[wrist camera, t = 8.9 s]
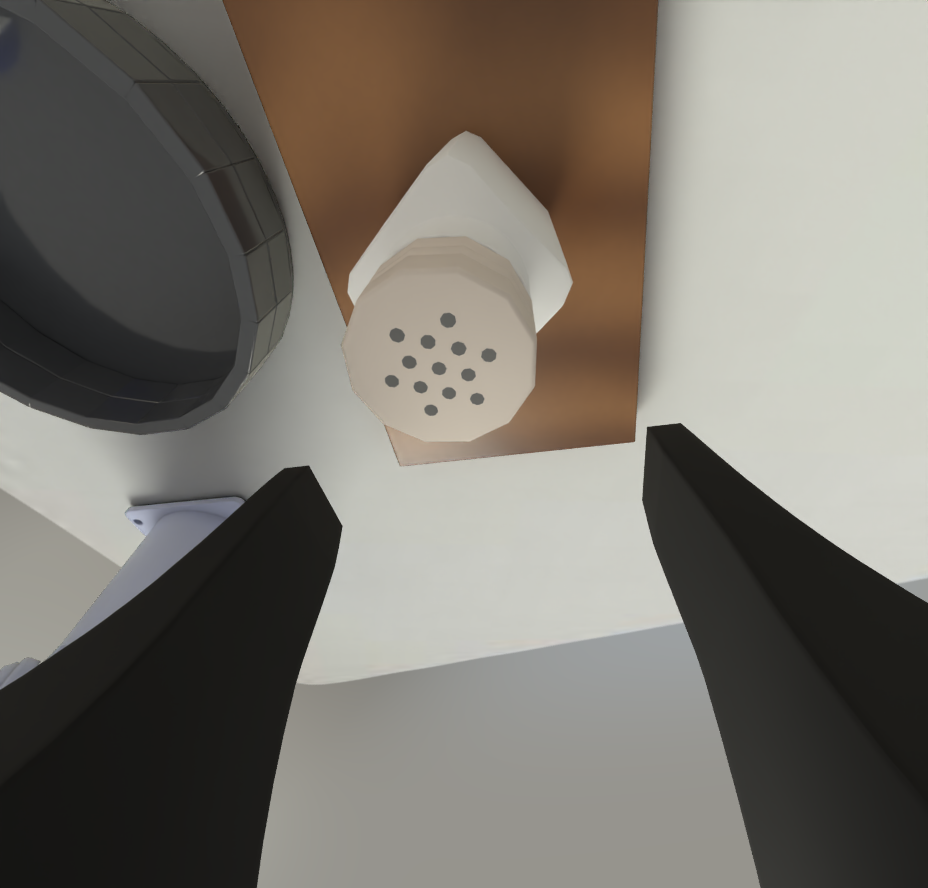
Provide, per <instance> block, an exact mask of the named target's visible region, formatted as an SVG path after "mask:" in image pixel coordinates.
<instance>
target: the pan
mask: <svg viewBox="0 0 928 888" xmlns="http://www.w3.org/2000/svg"><path fill="white" fill-rule="evenodd" d="M292 296H293V268H292V260H291V251H290V245H289V241H288V237H287V232H286V228H285V224H284V220H283V217H282V215H281V212H280V209H279V206H278V203H277V200H276V198H275V195H274V192H273V190H272V188H271V186H270V184H269V182H268V179H267V177H266V175H265V173H264V171H263V169H262V167H261V164H260V163H259V161H258V159H257V157H256V156H255V154H254V152H253V151H252V149H251V147H250V146H249V144H248V142H247V140H246V139H245V137H244V135H243V134H242V132H241V131H240V129H239V128H238V127H237V125H236V124H235V122H234V121H233V120H232V118H231V117H230V115H229V114H228V113H227V111H226V110H225V108H224V107H223V106H222V104H221V103H220V102H219V100H218V99H217V98H216V97H215V96H214V95H213V93H212V92H211V91H210V90H209V89H208V88H207V86H206V85H205V84H204V83H203V82H202V81H201V79H200V78H199V77H198V76H197V75H196V74H195V73H194V71H192V70H191V69H190V68H189V67H188V66H187V65H186V64H185V63H184V62H183V61H182V60H181V59H180V58H179V57H178V56H177V55H176V54H175V53H174V52H173V51H172V50H171V49H170V48H169V47H168V46H167V45H166V44H165V43H163V42H162V41H161V40H160V39H158V38H157V37H156V36H155V35H153V34H152V33H151V32H150V31H148V30H147V29H146V28H145V27H143V26H142V25H141V24H140V23H138V22H137V21H136V20H135V19H133V18H132V17H130V16H129V15H127V14H126V13H124V12H123V11H121V10H120V9H118V8H116V7H115V6H113V5H112V4H110V3H109V2H107V1H106V0H0V392H2V393H4V394H5V395H7V396H9V397H11V398H13V399H15V400H17V401H19V402H21V403H22V404H24V405H26V406H28V407H31V408H33V409H36V410H39V411H42V412H45V413H48V414H51V415H53V416H56V417H59V418H62V419H65V420H68V421H71V422H74V423H77V424H80V425H83V426H85V427H89V428H93V429H100V430H108V431H115V432H123V433H130V434H137V435H146V434H154V433H161V432H169V431H177V430H184V429H188V428H191V427H193V426H195V425H197V424H199V423H201V422H202V421H204V420H206V419H208V418H210V417H212V416H213V415H215V414H217V413H219V412H221V411H223V410H224V409H226V408H227V407H228V406H229V405H230V403H231V402H232V401H233V400H234V399H235V398H236V396H237V395H238V394H239V393H240V392H241V391H242V389H243V388H244V387H245V386H246V385H247V384H248V382H249V381H250V380H251V379H252V378H253V377H254V375H255V374H256V373H257V372H258V371H259V370H260V368H261V367H262V365H263V364H264V363H265V361H266V360H267V358H268V357H269V356H270V354H271V353H272V352H273V350H274V349H275V348H276V346H277V344H278V343H279V342H280V340H281V339H282V337H283V333H284V330H285V327H286V324H287V321H288V318H289V315H290V308H291V302H292Z"/></svg>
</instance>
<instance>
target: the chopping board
mask: <svg viewBox="0 0 928 888" xmlns="http://www.w3.org/2000/svg"><path fill="white" fill-rule="evenodd" d="M222 1H223V3H224V6H225V9H226V11H227V14H228V16H229V19H230V22H231V24H232V27H233V30H234V32H235V35H236V37H237V40H238V43H239V45H240V48H241V51H242V53H243V56H244V58H245V61H246V64H247V66H248V69H249V72H250V74H251V77H252V79H253V82H254V85H255V87H256V90H257V92H258V95H259V98H260V100H261V103H262V106H263V108H264V111H265V113H266V116H267V119H268V121H269V124H270V127H271V129H272V132H273V134H274V137H275V140H276V142H277V145H278V148H279V150H280V153H281V155H282V158H283V161H284V163H285V166H286V169H287V171H288V174H289V176H290V179H291V182H292V184H293V187H294V189H295V192H296V195H297V197H298V200H299V203H300V205H301V208H302V210H303V213H304V216H305V218H306V221H307V224H308V226H309V229H310V231H311V234H312V237H313V239H314V242H315V245H316V247H317V250H318V252H319V255H320V258H321V260H322V263H323V266H324V268H325V271H326V273H327V276H328V279H329V281H330V284H331V286H332V289H333V292H334V294H335V297H336V300H337V302H338V305H339V307H340V310H341V313H342V315H343V318H344V321H345V323H346V326H348V324H349V321H350V318H351V315H352V312H353V309H354V305H353V303H352V301H351V298H350V296H349V294H348V282H349V274H350V272H351V271H352V269H353V268H354V266H355V265H356V263H357V262H358V261H359V259H360V258H361V256H362V255H363V253H364V252H365V250H366V249H367V248H368V246H369V245H370V243H371V242H372V240H373V239H374V238H375V236H376V235H377V233H378V232H379V230H380V229H381V228H382V226H383V225H384V223H385V222H386V221H387V219H388V218H389V216H390V215H391V214H392V212H393V211H394V209H395V208H396V206H397V205H398V204H399V202H400V201H401V199H402V198H403V197H404V195H405V194H406V192H407V191H408V190H409V188H410V187H411V185H412V184H413V183H414V181H415V180H416V178H417V177H418V176H419V174H420V173H421V172H422V170H423V169H424V167H425V166H426V165H427V164H428V163H429V162H430V161H431V160H432V158H433V157H434V156H435V155H436V154H437V153H438V152H439V151H440V150H441V149H442V148H443V147H444V146H445V145H446V144H447V143H448V142H449V141H450V140H451V139H453V138H454V137H456V136H458V135H459V134H461V133H463V132H465V131H468V132H470V133H472V134H475V135H477V136H479V137H481V138H482V139H483V140H484V141H485V142H486V143H487V144H488V145H489V147H490V148H491V149H492V150H493V151H494V152H495V153H496V154H497V155H498V156H499V158H500V159H501V160H502V161H503V162H504V163H505V164H506V165H507V166H508V167H509V169H510V170H511V171H512V172H513V173H514V174H515V175H516V176H517V177H518V179H519V180H520V181H521V182H522V183H523V184H524V185H525V186H526V187H527V188H528V190H529V191H530V192H531V193H532V194H533V195H534V196H535V197H536V198H537V200H538V201H539V202H540V203H541V204H542V205H543V206H544V207H545V208H546V209H547V211H548V213H549V215H550V218H551V221H552V224H553V227H554V229H555V232H556V235H557V238H558V240H559V243H560V246H561V249H562V252H563V254H564V257H565V260H566V263H567V266H568V269H569V272H570V275H571V278H572V281H573V283H572V286H571V288H570V291H569V293H568V295H567V298H566V300H565V302H564V305H563V306H562V307H561V308H560V309H559V310H558V312H557V313H556V314H555V315H554V316H553V317H552V318H551V319H550V320H549V321H548V322H547V323H546V324H545V325H544V326H543V327H542V328H541V329H540V330H539V331H538V332H537V333H536V336H537V352H536V374H535V387H534V388H533V390H532V391H531V393H530V394H529V395H528V397H527V398H526V400H525V401H524V402H523V404H522V405H521V407H520V408H519V409H518V411H517V412H516V414H515V415H514V416H513V418H512V419H511V421H510V422H509V423H507V424H505V425H503V426H501V427H499V428H497V429H495V430H493V431H490V432H488V433H486V434H484V435H482V436H480V437H478V438H476V439H474V440H471V441H457V442H425V441H422V440H420V439H418V438H415V437H413V436H411V435H408V434H406V433H404V432H401V431H399V430H396V429H394V428H392V427H389V426H387V425H385V424H384V425H385V428H386V431H387V433H388V436H389V439H390V441H391V444H392V446H393V449H394V452H395V454H396V457H397V460H398V462H399V465H400V466H408V465H418V464H428V463H437V462H447V461H456V460H466V459H476V458H485V457H495V456H505V455H514V454H524V453H533V452H543V451H553V450H562V449H572V448H581V447H591V446H601V445H610V444H620V443H630V442H635V433H636V414H637V395H638V376H639V357H640V338H641V319H642V301H643V282H644V263H645V244H646V225H647V206H648V187H649V168H650V150H651V131H652V112H653V93H654V74H655V55H656V36H657V17H658V0H222Z"/></svg>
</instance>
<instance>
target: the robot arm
mask: <svg viewBox="0 0 928 888" xmlns="http://www.w3.org/2000/svg"><path fill="white" fill-rule="evenodd" d="M642 501H643V505H644V509H645V513H646V517H647V521H648V525H649V529H650V533H651V537H652V541H653V544H654V547H655V550H656V553H657V555H658V558H659V560H660V563H661V566H662V568H663V571H664V573H665V576H666V578H667V581H668V584H669V586H670V589H671V591H672V594H673V596H674V599H675V601H676V604H677V607H678V609H679V612H680V614H681V617H682V619H683V622H684V624H685V627H686V629H687V632H688V634H689V637H690V639H691V642H692V645H693V647H694V649H695V652H696V655H697V658H698V661H699V664H700V667H701V670H702V673H703V675H704V678H705V682H706V685H707V689H708V692H709V696H710V699H711V702H712V706H713V710H714V713H715V717H716V720H717V723H718V727H719V731H720V734H721V738H722V741H723V745H724V749H725V752H726V756H727V760H728V763H729V767H730V771H731V774H732V778H733V781H734V785H735V789H736V793H737V796H738V800H739V804H740V808H741V812H742V816H743V819H744V823H745V827H746V831H747V835H748V839H749V843H750V847H751V851H752V855H753V859H754V862H755V866H756V870H757V874H758V879H759V883H760V887H761V888H928V603H927V602H925V601H924V600H922V599H920V598H918V597H917V596H915V595H913V594H912V593H910V592H908V591H907V590H905V589H904V588H902V587H900V586H899V585H897V584H895V583H894V582H892V581H891V580H889V579H887V578H886V577H884V576H883V575H881V574H879V573H878V572H876V571H875V570H873V569H871V568H870V567H868V566H867V565H865V564H863V563H862V562H860V561H859V560H857V559H855V558H854V557H852V556H851V555H849V554H848V553H846V552H845V551H843V550H842V549H840V548H839V547H837V546H836V545H834V544H833V543H831V542H830V541H829V540H827V539H826V538H824V537H823V536H821V535H820V534H819V533H817V532H816V531H814V530H813V529H812V528H810V527H809V526H807V525H806V524H805V523H803V522H802V521H800V520H799V519H798V518H796V517H795V516H794V515H792V514H791V513H790V512H788V511H787V510H786V509H784V508H783V507H782V506H780V505H779V504H778V503H776V502H775V501H774V500H772V499H771V498H770V497H769V496H767V495H766V494H765V493H764V492H762V491H761V490H760V489H759V488H757V487H756V486H755V485H753V484H752V483H751V482H750V481H748V480H747V479H746V478H745V477H743V476H742V475H741V474H740V473H739V472H737V471H736V470H735V469H734V468H733V467H731V466H730V465H729V464H728V463H727V462H725V461H724V460H723V459H722V458H721V457H720V456H718V455H717V454H716V453H715V452H714V451H713V450H711V449H710V448H709V447H708V446H707V445H706V444H704V443H703V442H702V441H701V440H700V439H699V438H697V437H696V436H695V435H694V434H693V433H692V432H691V431H689V430H688V429H687V428H686V427H685V426H683V425H682V424H681V423H678V424H669V425H660V426H652V427H647V436H646V451H645V466H644V482H643V497H642ZM125 515H126V517H127V518H128V519H129V520H130V521H131V522H132V523H133V524H134V525H135V526H136V527H137V528H138V529H139V530H140V531H141V532H142V533H143V534H144V535H145V536H146V537H145V539H144V540H143V541H142V542H141V544H140V545H139V546H138V547H137V549H136V550H135V551H134V553H133V554H132V555H131V556H130V558H129V559H128V560H127V561H126V563H125V564H124V565H123V566H122V568H121V569H120V570H119V571H118V573H117V574H116V575H115V577H114V578H113V579H112V580H111V581H110V583H109V584H108V585H107V587H106V588H105V589H104V590H103V592H102V593H101V594H100V595H99V597H98V598H97V599H96V600H95V602H94V603H93V604H92V605H91V607H90V608H89V609H88V610H87V612H86V613H85V614H84V616H83V617H82V618H81V619H80V621H79V622H78V623H77V624H76V626H75V627H74V628H73V629H72V631H71V632H70V633H69V634H68V636H67V637H66V638H65V639H64V641H63V642H62V643H61V645H60V646H59V647H58V648H57V649H56V650H55V651H54V652H53V653H52V654H51V655H50V656H49V657H48V658H47V659H46V660H45V661H44V662H42V663H41V664H39V663H40V661H39V660H36V659H33V658H29V657H27V658H24V659H23V660H22V661H21V662H20V663H19V662H15V663H12V664H9V665H6V666H4V667H2V668H1V669H0V888H257V882H258V874H259V868H260V860H261V853H262V846H263V840H264V834H265V828H266V823H267V817H268V811H269V806H270V800H271V794H272V789H273V783H274V778H275V774H276V769H277V764H278V759H279V754H280V750H281V745H282V740H283V735H284V731H285V726H286V722H287V718H288V714H289V710H290V706H291V701H292V697H293V693H294V689H295V685H296V681H297V678H298V675H299V672H300V668H301V665H302V662H303V659H304V656H305V653H306V650H307V647H308V644H309V641H310V639H311V636H312V633H313V630H314V627H315V624H316V621H317V618H318V615H319V613H320V610H321V607H322V604H323V601H324V598H325V595H326V592H327V589H328V586H329V583H330V580H331V577H332V574H333V571H334V568H335V563H336V558H337V554H338V549H339V543H340V538H341V532H342V524H341V522H340V521H339V519H338V517H337V515H336V513H335V512H334V510H333V508H332V506H331V504H330V503H329V501H328V499H327V497H326V495H325V494H324V492H323V490H322V488H321V487H320V485H319V483H318V481H317V479H316V478H315V476H314V474H313V472H312V470H311V469H310V467H309V466H301V467H293V468H284V469H283V470H282V471H280V472H279V473H278V474H277V475H275V476H274V477H273V478H272V479H270V480H269V481H268V482H267V483H266V484H265V485H264V486H262V487H261V488H260V489H259V490H258V491H257V492H256V493H254V494H253V495H252V496H251V497H250V498H249V499H248V500H247V501H246V502H245V501H244V500H243V499H241V498H239V497H226V498H215V499H205V500H195V501H185V502H175V503H164V504H154V505H144V506H134V507H129V508H128V509H127V510H126V512H125ZM38 664H39V665H38Z"/></svg>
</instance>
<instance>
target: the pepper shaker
mask: <svg viewBox="0 0 928 888" xmlns="http://www.w3.org/2000/svg"><path fill="white" fill-rule="evenodd" d="M572 283H573V281H572V278H571V275H570V272H569V269H568V266H567V263H566V260H565V257H564V254H563V252H562V249H561V246H560V243H559V240H558V238H557V235H556V232H555V229H554V227H553V224H552V221H551V218H550V215H549V213H548V211H547V209H546V208H545V207H544V206H543V205H542V204H541V203H540V202H539V201H538V200H537V198H536V197H535V196H534V195H533V194H532V193H531V192H530V191H529V190H528V188H527V187H526V186H525V185H524V184H523V183H522V182H521V181H520V180H519V179H518V177H517V176H516V175H515V174H514V173H513V172H512V171H511V170H510V169H509V167H508V166H507V165H506V164H505V163H504V162H503V161H502V160H501V159H500V158H499V156H498V155H497V154H496V153H495V152H494V151H493V150H492V149H491V148H490V147H489V145H488V144H487V143H486V142H485V141H484V140H483V139H482V138H481V137H479V136H477V135H475V134H472V133H470V132H468V131H465V132H463V133H461V134H459V135H458V136H456V137H454V138H453V139H451V140H450V141H449V142H448V143H447V144H446V145H445V146H444V147H443V148H442V149H441V150H440V151H439V152H438V153H437V154H436V155H435V156H434V157H433V158H432V160H431V161H430V162H429V163H428V164H427V165H426V166H425V167H424V169H423V170H422V172H421V173H420V174H419V176H418V177H417V178H416V180H415V181H414V183H413V184H412V185H411V187H410V188H409V190H408V191H407V192H406V194H405V195H404V197H403V198H402V199H401V201H400V202H399V204H398V205H397V206H396V208H395V209H394V211H393V212H392V214H391V215H390V216H389V218H388V219H387V221H386V222H385V223H384V225H383V226H382V228H381V229H380V230H379V232H378V233H377V235H376V236H375V238H374V239H373V240H372V242H371V243H370V245H369V246H368V248H367V249H366V250H365V252H364V253H363V255H362V256H361V258H360V259H359V261H358V262H357V263H356V265H355V266H354V268H353V269H352V271H351V272H350V274H349V282H348V294H349V296H350V298H351V301H352V303H353V305H354V309H353V312H352V315H351V318H350V321H349V324H348V326H347V329H346V332H345V335H344V338H343V341H342V344H341V347H342V351H343V355H344V359H345V363H346V366H347V370H348V374H349V378H350V382H351V386H352V390H353V391H354V393H355V394H356V395H357V396H358V397H359V398H360V399H361V400H362V401H363V402H364V403H365V404H366V406H367V407H368V408H369V409H370V410H371V411H372V412H373V413H374V414H375V415H376V416H377V417H378V419H379V420H380V421H381V422H382V423H383V424H385V425H387V426H389V427H392V428H394V429H396V430H399V431H401V432H404V433H406V434H408V435H411V436H413V437H415V438H418V439H420V440H422V441H425V442H457V441H471V440H474V439H476V438H478V437H480V436H482V435H484V434H486V433H488V432H490V431H493V430H495V429H497V428H499V427H501V426H503V425H505V424H507V423H509V422H510V421H511V419H512V418H513V416H514V415H515V414H516V412H517V411H518V409H519V408H520V407H521V405H522V404H523V402H524V401H525V400H526V398H527V397H528V395H529V394H530V393H531V391H532V390H533V388H534V387H535V374H536V352H537V336H536V333H537V332H538V331H539V330H540V329H541V328H542V327H543V326H544V325H545V324H546V323H547V322H548V321H549V320H550V319H551V318H552V317H553V316H554V315H555V314H556V313H557V312H558V310H559V309H560V308H561V307H562V306H563V305H564V302H565V300H566V298H567V295H568V293H569V291H570V288H571V286H572Z"/></svg>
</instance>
